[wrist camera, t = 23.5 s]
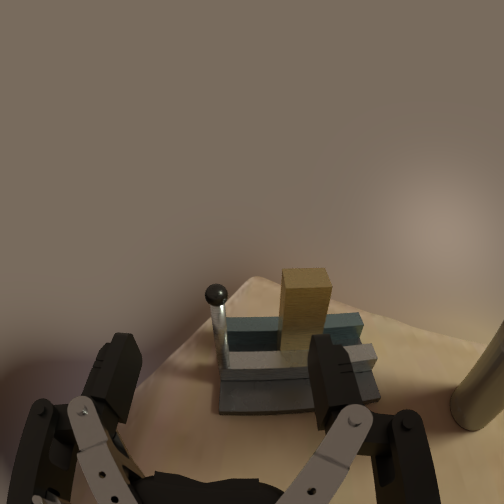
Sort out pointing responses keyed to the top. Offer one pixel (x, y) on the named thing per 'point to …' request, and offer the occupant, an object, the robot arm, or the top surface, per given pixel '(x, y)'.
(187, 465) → the top surface
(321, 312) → the block
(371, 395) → the vise
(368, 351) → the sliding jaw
